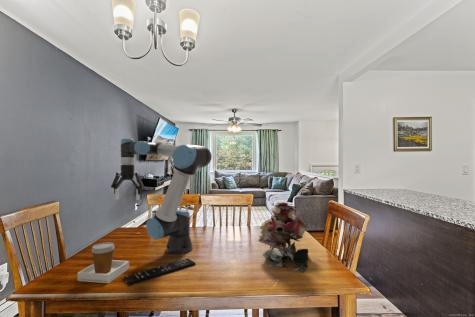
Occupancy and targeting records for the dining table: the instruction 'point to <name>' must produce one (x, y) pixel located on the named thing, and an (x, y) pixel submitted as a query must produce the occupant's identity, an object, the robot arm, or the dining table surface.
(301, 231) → the rose bouquet
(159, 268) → the remote control
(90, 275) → the tray
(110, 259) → the disposable coffee cup
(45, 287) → the dining table surface
